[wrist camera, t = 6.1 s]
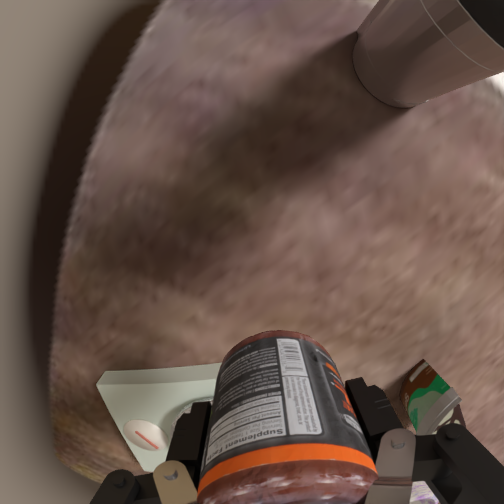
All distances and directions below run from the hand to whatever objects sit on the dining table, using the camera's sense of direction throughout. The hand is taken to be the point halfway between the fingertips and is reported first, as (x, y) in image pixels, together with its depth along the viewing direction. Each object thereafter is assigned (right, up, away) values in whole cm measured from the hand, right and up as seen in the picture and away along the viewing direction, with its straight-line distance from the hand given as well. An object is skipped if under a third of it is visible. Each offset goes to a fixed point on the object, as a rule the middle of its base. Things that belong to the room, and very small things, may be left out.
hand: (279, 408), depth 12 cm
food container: (+20, -12, +21) cm, 31 cm away
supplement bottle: (0, +1, +3) cm, 3 cm away
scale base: (-7, -13, +21) cm, 26 cm away
